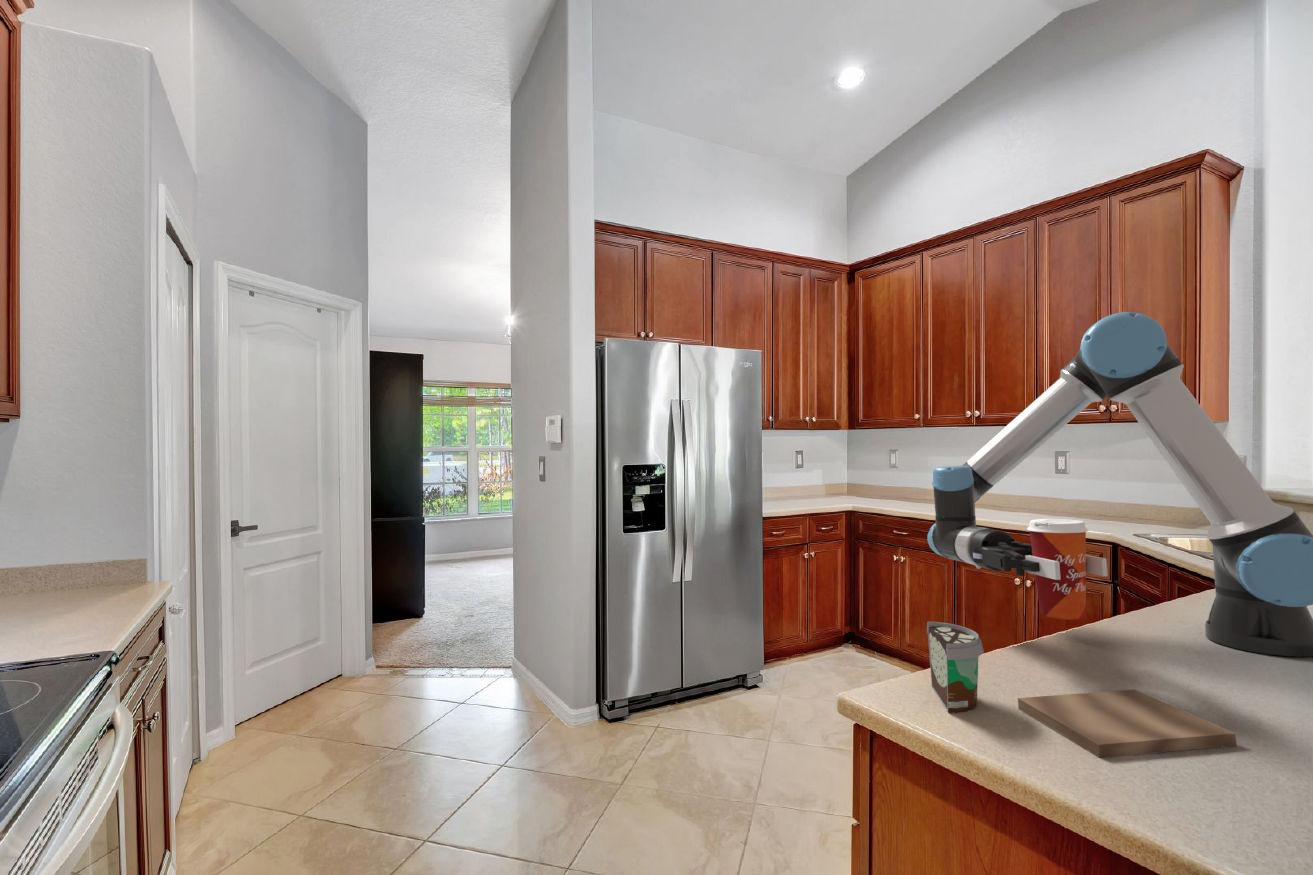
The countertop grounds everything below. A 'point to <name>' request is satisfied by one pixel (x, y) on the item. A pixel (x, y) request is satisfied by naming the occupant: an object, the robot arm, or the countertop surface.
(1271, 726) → the countertop surface
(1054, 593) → the coffee cup
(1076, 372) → the robot arm
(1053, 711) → the walnut board
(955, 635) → the food container
